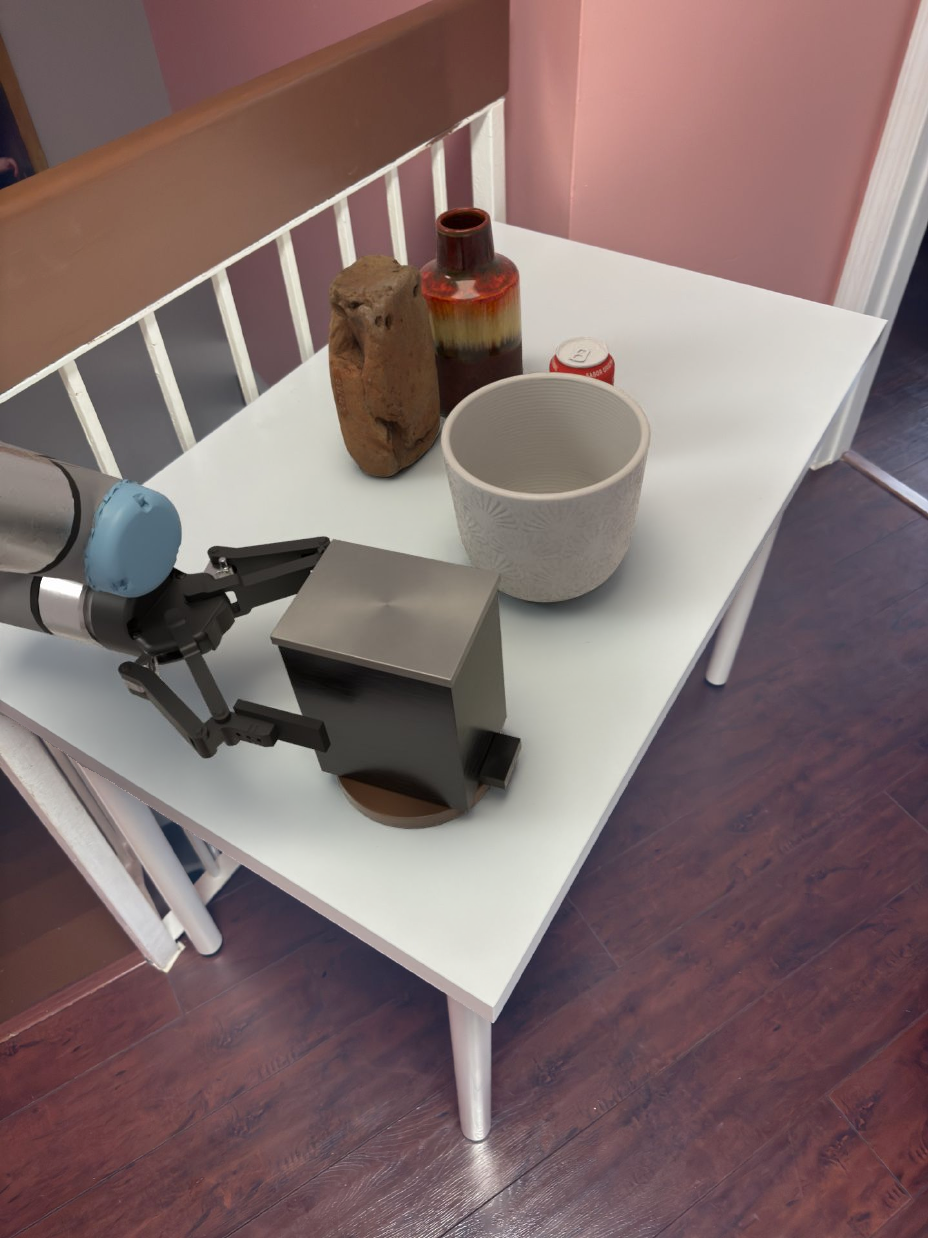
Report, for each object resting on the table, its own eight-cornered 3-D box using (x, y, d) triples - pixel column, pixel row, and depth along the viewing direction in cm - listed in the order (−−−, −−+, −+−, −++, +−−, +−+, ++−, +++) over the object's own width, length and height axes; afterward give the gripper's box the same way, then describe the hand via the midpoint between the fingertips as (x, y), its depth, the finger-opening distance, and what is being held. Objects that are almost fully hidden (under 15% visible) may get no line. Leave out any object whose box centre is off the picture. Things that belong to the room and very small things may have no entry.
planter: (661, 526, 87) (676, 391, 76) (602, 653, 77) (610, 519, 66) (499, 488, 93) (490, 356, 82) (425, 601, 83) (404, 470, 72)
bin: (493, 823, 66) (479, 687, 54) (317, 772, 70) (269, 636, 58) (532, 720, 71) (527, 577, 60) (367, 679, 75) (332, 538, 64)
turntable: (370, 856, 66) (367, 846, 65) (314, 726, 75) (310, 716, 73) (529, 785, 69) (528, 774, 68) (458, 668, 78) (456, 657, 76)
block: (393, 415, 103) (366, 243, 88) (450, 432, 100) (432, 256, 85) (339, 471, 97) (299, 296, 82) (398, 490, 94) (369, 313, 79)
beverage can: (564, 428, 99) (564, 328, 90) (619, 441, 97) (625, 340, 88) (540, 461, 95) (538, 361, 86) (596, 476, 93) (600, 374, 84)
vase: (434, 369, 108) (415, 196, 93) (525, 367, 107) (520, 191, 92) (424, 423, 101) (401, 246, 86) (521, 422, 100) (515, 242, 85)
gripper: (213, 532, 81) (433, 578, 75) (39, 758, 66) (298, 837, 60) (188, 466, 76) (423, 509, 70) (-8, 696, 61) (272, 776, 55)
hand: (366, 661), depth 65 cm, fingers open, 13 cm apart
